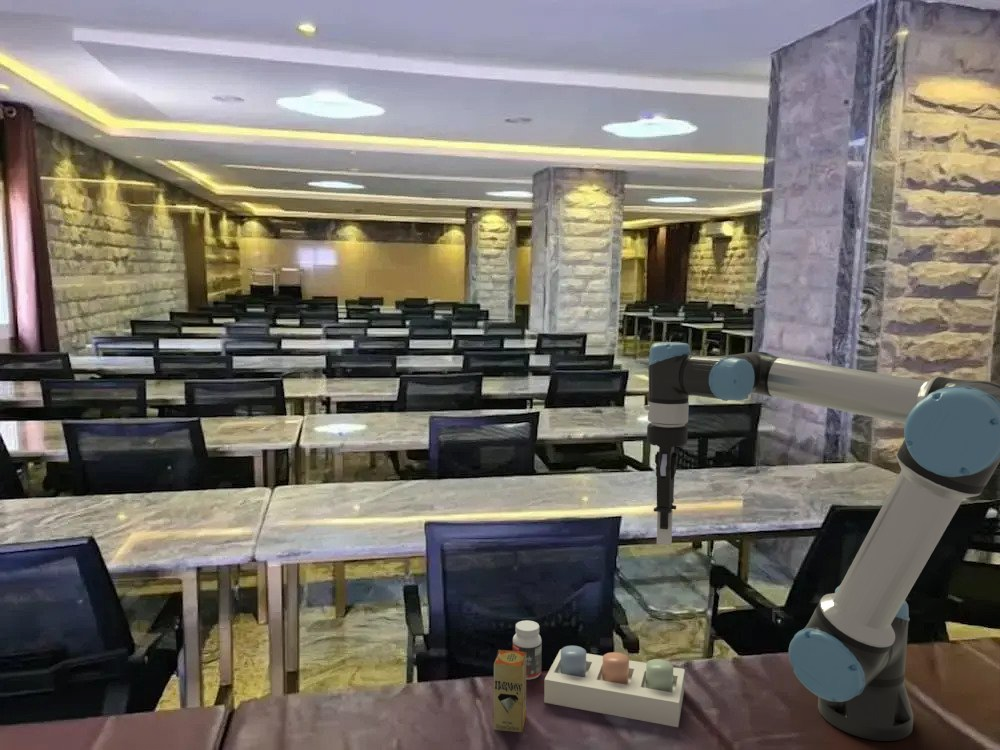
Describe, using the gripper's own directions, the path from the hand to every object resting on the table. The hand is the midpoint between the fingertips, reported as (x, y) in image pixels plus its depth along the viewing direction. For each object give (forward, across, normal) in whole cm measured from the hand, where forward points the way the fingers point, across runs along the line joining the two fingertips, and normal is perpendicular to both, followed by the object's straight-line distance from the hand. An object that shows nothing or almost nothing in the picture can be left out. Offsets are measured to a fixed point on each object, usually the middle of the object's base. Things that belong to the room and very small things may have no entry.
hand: (664, 543), depth 143 cm
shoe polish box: (+27, +26, -23) cm, 44 cm away
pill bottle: (+27, +9, -25) cm, 38 cm away
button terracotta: (+23, +12, -7) cm, 27 cm away
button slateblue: (+23, +12, -15) cm, 30 cm away
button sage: (+23, +12, +1) cm, 26 cm away
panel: (+26, +12, -7) cm, 30 cm away
